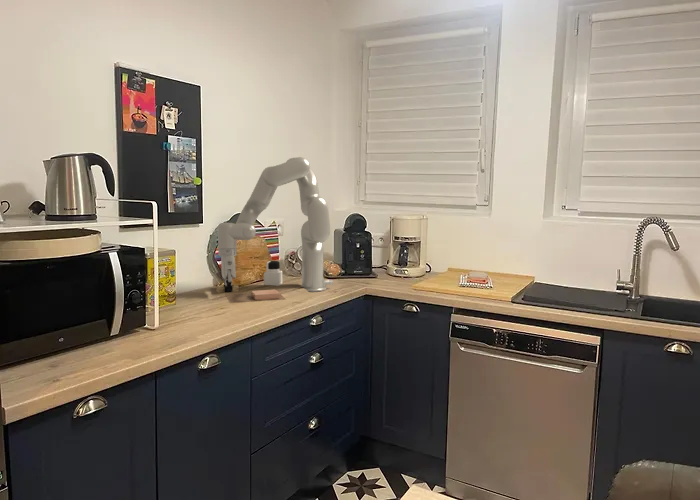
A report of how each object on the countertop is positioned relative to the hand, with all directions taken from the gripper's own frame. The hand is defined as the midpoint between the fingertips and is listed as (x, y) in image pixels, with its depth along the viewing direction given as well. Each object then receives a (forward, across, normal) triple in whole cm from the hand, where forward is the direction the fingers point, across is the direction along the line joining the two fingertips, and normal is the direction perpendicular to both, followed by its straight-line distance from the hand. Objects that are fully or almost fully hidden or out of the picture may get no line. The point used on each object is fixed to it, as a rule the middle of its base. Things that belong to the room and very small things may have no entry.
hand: (228, 294), depth 224 cm
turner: (0, 0, -4) cm, 4 cm away
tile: (-2, -12, -13) cm, 18 cm away
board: (0, -14, -9) cm, 17 cm away
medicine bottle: (0, +11, -22) cm, 25 cm away
